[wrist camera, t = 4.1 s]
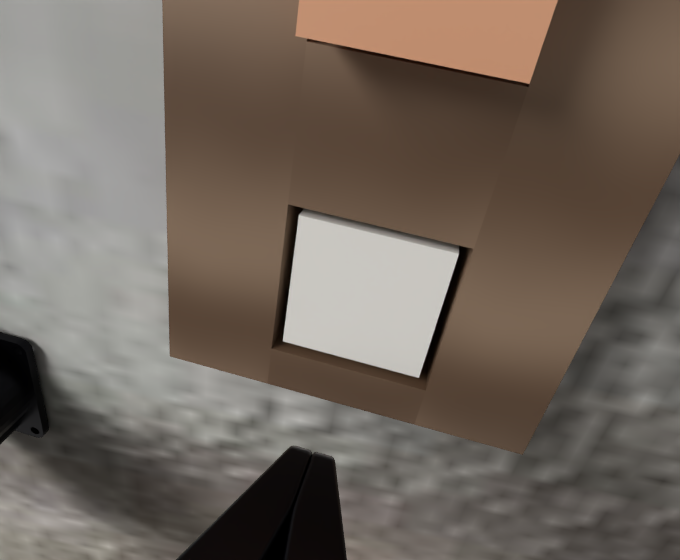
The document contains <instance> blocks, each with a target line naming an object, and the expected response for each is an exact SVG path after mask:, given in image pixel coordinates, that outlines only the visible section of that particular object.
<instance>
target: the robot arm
mask: <svg viewBox="0 0 680 560" xmlns="http://www.w3.org/2000/svg"><path fill="white" fill-rule="evenodd" d="M48 430H49V427H48V422H47V417H46V412H45V407H44V402H43V397H42V393H41V388H40V383H39V378H38V373H37V368H36V363H35V358H34V353H33V349H32V346H31V345H30V344H29V342H27V341H26V340H24V339H22V338H18V337H15V336H11V335H8V334H4V333H1V332H0V444H1V443H2V442H3V441H4V440H5V439H6V438H7V437H8V436H9V435H10V434H12V433H13V432H14V431H18V432H21V433H25V434H28V435H31V436H34V437H39V438H40V437H42V436H43V435H44V434H45V433H46V432H47V431H48ZM176 560H347V557H346V548H345V540H344V532H343V524H342V515H341V507H340V499H339V491H338V482H337V474H336V466H335V460H334V458H333V457H332V456H329V455H325V454H322V453H318V452H315V453H313V454H312V452H311V451H310V450H308V449H305V448H301V447H298V446H291V447H290V448H288V449H287V450H286V451H285V452H284V453H283V454H282V455H281V456H280V457H279V458H278V459H277V460H276V461H275V462H274V463H273V464H272V465H271V466H270V467H269V468H268V469H267V470H266V471H265V472H264V473H263V474H262V475H261V476H260V477H259V478H258V479H257V480H256V481H255V482H254V483H253V484H252V485H251V486H250V487H249V488H248V489H247V490H246V491H245V492H244V493H243V494H242V495H241V496H240V497H239V498H238V499H237V500H236V501H235V502H234V503H233V504H232V505H231V506H230V507H229V508H228V509H227V510H226V511H225V512H224V513H223V514H222V515H221V516H220V517H219V518H218V519H217V520H216V521H215V522H214V523H213V524H212V525H211V526H210V527H209V528H208V529H207V530H206V531H205V532H204V533H203V534H202V535H201V536H200V537H199V538H198V539H197V540H196V541H195V542H194V543H193V544H192V545H191V546H190V547H189V548H188V549H187V550H186V551H185V552H184V553H183V554H182V555H181V556H179V557H178V558H177V559H176Z"/></svg>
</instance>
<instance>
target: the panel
mask: <svg viewBox="0 0 680 560" xmlns="http://www.w3.org/2000/svg"><path fill="white" fill-rule="evenodd" d="M162 4H163V52H164V100H165V148H166V195H167V243H168V291H169V339H170V356H171V357H175V358H178V359H182V360H185V361H189V362H193V363H196V364H200V365H203V366H207V367H210V368H214V369H218V370H221V371H225V372H228V373H232V374H236V375H239V376H243V377H246V378H250V379H253V380H257V381H261V382H264V383H268V384H271V385H275V386H279V387H282V388H286V389H289V390H293V391H296V392H300V393H304V394H307V395H311V396H314V397H318V398H321V399H325V400H329V401H332V402H336V403H339V404H343V405H347V406H350V407H354V408H357V409H361V410H364V411H368V412H372V413H375V414H379V415H382V416H386V417H390V418H393V419H397V420H400V421H404V422H407V423H411V424H415V425H418V426H422V427H425V428H429V429H433V430H436V431H440V432H443V433H447V434H450V435H454V436H458V437H461V438H465V439H468V440H472V441H475V442H479V443H483V444H486V445H490V446H493V447H497V448H501V449H504V450H508V451H511V452H515V453H518V454H522V455H523V453H524V451H525V449H526V447H527V445H528V444H529V442H530V440H531V438H532V436H533V434H534V432H535V430H536V428H537V426H538V424H539V422H540V421H541V419H542V417H543V415H544V413H545V411H546V409H547V407H548V405H549V403H550V401H551V400H552V398H553V396H554V394H555V392H556V390H557V388H558V386H559V384H560V382H561V380H562V378H563V377H564V375H565V373H566V371H567V369H568V367H569V365H570V363H571V361H572V359H573V357H574V356H575V354H576V352H577V350H578V348H579V346H580V344H581V342H582V340H583V338H584V336H585V334H586V333H587V331H588V329H589V327H590V325H591V323H592V321H593V319H594V317H595V315H596V313H597V311H598V310H599V308H600V306H601V304H602V302H603V300H604V298H605V296H606V294H607V292H608V290H609V289H610V287H611V285H612V283H613V281H614V279H615V277H616V275H617V273H618V271H619V269H620V267H621V266H622V264H623V262H624V260H625V258H626V256H627V254H628V252H629V250H630V248H631V246H632V245H633V243H634V241H635V239H636V237H637V235H638V233H639V231H640V229H641V227H642V225H643V223H644V222H645V220H646V218H647V216H648V214H649V212H650V210H651V208H652V206H653V204H654V202H655V200H656V199H657V197H658V195H659V193H660V191H661V189H662V187H663V185H664V183H665V181H666V179H667V178H668V176H669V174H670V172H671V170H672V168H673V166H674V164H675V162H676V160H677V158H678V156H679V155H680V0H558V1H557V4H556V7H555V10H554V13H553V16H552V19H551V22H550V25H549V28H548V31H547V34H546V37H545V40H544V42H543V45H542V48H541V51H540V54H539V57H538V60H537V63H536V66H535V69H534V72H533V75H532V78H531V81H530V84H528V83H523V82H518V81H513V80H508V79H503V78H498V77H493V76H488V75H484V74H479V73H474V72H469V71H464V70H459V69H454V68H449V67H444V66H440V65H435V64H430V63H425V62H420V61H415V60H410V59H405V58H400V57H395V56H391V55H386V54H381V53H376V52H371V51H366V50H361V49H356V48H351V47H346V46H342V45H337V44H332V43H327V42H322V41H317V40H312V39H307V38H302V37H298V36H295V35H296V25H297V15H298V6H299V0H162ZM304 208H305V209H309V210H314V211H318V212H322V213H326V214H330V215H334V216H339V217H343V218H347V219H351V220H355V221H359V222H364V223H368V224H372V225H376V226H380V227H384V228H388V229H393V230H397V231H401V232H405V233H409V234H413V235H418V236H422V237H426V238H430V239H434V240H438V241H443V242H447V243H451V244H455V245H459V255H458V259H457V262H456V265H455V268H454V271H453V274H452V277H451V280H450V283H449V286H448V289H447V293H446V296H445V299H444V302H443V305H442V308H441V311H440V314H439V317H438V320H437V323H436V327H435V330H434V333H433V336H432V339H431V342H430V345H429V348H428V351H427V354H426V358H425V361H424V364H423V367H422V370H421V373H420V376H419V378H417V377H413V376H410V375H406V374H402V373H399V372H395V371H391V370H387V369H384V368H380V367H376V366H373V365H369V364H365V363H361V362H358V361H354V360H350V359H347V358H343V357H339V356H336V355H332V354H328V353H324V352H321V351H317V350H313V349H310V348H306V347H302V346H298V345H295V344H291V343H287V342H284V341H283V335H284V327H285V320H286V312H287V304H288V296H289V288H290V281H291V273H292V265H293V257H294V249H295V242H296V234H297V226H298V218H299V214H300V213H301V212H302V210H303V209H304Z"/></svg>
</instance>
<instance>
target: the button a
mask: <svg viewBox="0 0 680 560" xmlns="http://www.w3.org/2000/svg"><path fill="white" fill-rule="evenodd" d="M458 255H459V245H455V244H451V243H447V242H443V241H438V240H434V239H430V238H426V237H422V236H418V235H413V234H409V233H405V232H401V231H397V230H393V229H388V228H384V227H380V226H376V225H372V224H368V223H364V222H359V221H355V220H351V219H347V218H343V217H339V216H334V215H330V214H326V213H322V212H318V211H314V210H309V209H305V208H304V209H303V210H302V212H301V213H300V214H299V218H298V226H297V234H296V242H295V249H294V257H293V265H292V273H291V281H290V288H289V296H288V304H287V312H286V320H285V327H284V335H283V341H284V342H287V343H291V344H295V345H298V346H302V347H306V348H310V349H313V350H317V351H321V352H324V353H328V354H332V355H336V356H339V357H343V358H347V359H350V360H354V361H358V362H361V363H365V364H369V365H373V366H376V367H380V368H384V369H387V370H391V371H395V372H399V373H402V374H406V375H410V376H413V377H417V378H419V376H420V373H421V370H422V367H423V364H424V361H425V358H426V354H427V351H428V348H429V345H430V342H431V339H432V336H433V333H434V330H435V327H436V323H437V320H438V317H439V314H440V311H441V308H442V305H443V302H444V299H445V296H446V293H447V289H448V286H449V283H450V280H451V277H452V274H453V271H454V268H455V265H456V262H457V259H458Z"/></svg>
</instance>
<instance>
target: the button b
mask: <svg viewBox="0 0 680 560" xmlns="http://www.w3.org/2000/svg"><path fill="white" fill-rule="evenodd" d="M557 1H558V0H299V6H298V15H297V25H296V35H295V36H298V37H302V38H307V39H312V40H317V41H322V42H327V43H332V44H337V45H342V46H346V47H351V48H356V49H361V50H366V51H371V52H376V53H381V54H386V55H391V56H395V57H400V58H405V59H410V60H415V61H420V62H425V63H430V64H435V65H440V66H444V67H449V68H454V69H459V70H464V71H469V72H474V73H479V74H484V75H488V76H493V77H498V78H503V79H508V80H513V81H518V82H523V83H528V84H530V81H531V78H532V75H533V72H534V69H535V66H536V63H537V60H538V57H539V54H540V51H541V48H542V45H543V42H544V40H545V37H546V34H547V31H548V28H549V25H550V22H551V19H552V16H553V13H554V10H555V7H556V4H557Z"/></svg>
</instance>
